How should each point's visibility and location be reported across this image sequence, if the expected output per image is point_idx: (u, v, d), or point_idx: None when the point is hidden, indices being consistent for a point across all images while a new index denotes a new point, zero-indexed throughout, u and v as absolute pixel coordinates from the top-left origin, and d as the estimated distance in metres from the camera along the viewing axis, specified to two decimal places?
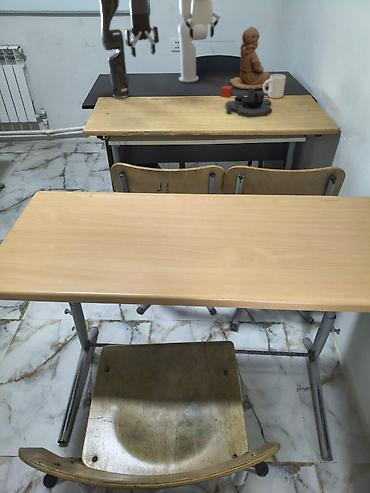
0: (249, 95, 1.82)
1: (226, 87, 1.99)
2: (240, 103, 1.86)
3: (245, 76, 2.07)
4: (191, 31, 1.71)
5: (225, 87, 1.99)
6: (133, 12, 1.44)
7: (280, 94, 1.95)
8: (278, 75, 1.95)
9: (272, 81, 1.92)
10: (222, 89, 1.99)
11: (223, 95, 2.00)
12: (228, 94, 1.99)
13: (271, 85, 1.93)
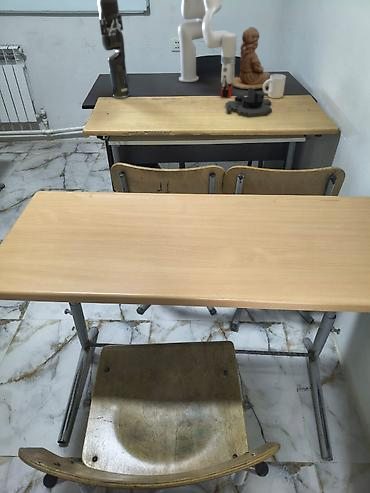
0: (249, 95, 1.82)
1: None
2: (240, 103, 1.86)
3: (245, 76, 2.07)
4: None
5: None
6: None
7: (280, 94, 1.95)
8: (278, 75, 1.95)
9: (272, 81, 1.92)
10: None
11: None
12: (228, 94, 1.99)
13: (271, 85, 1.93)
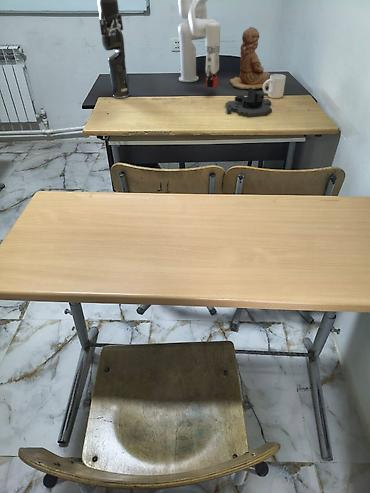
0: (249, 95, 1.82)
1: None
2: (240, 103, 1.86)
3: (245, 76, 2.07)
4: None
5: None
6: None
7: (280, 94, 1.95)
8: (278, 75, 1.95)
9: (272, 81, 1.92)
10: None
11: None
12: None
13: (271, 85, 1.93)
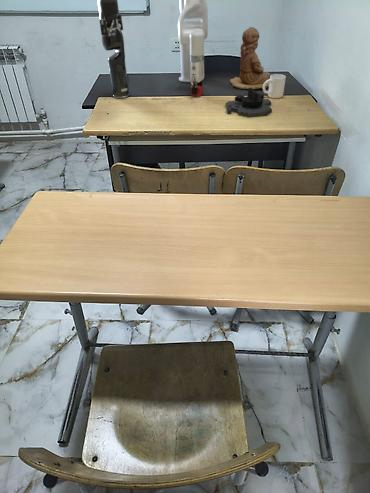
0: (249, 95, 1.82)
1: None
2: (240, 103, 1.86)
3: (245, 76, 2.07)
4: None
5: None
6: None
7: (280, 94, 1.95)
8: (278, 75, 1.95)
9: (272, 81, 1.92)
10: None
11: None
12: (198, 93, 2.01)
13: (271, 85, 1.93)
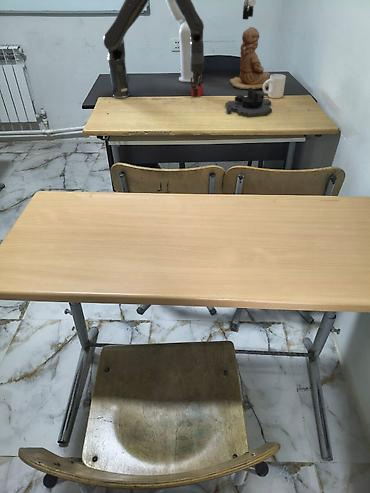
0: (249, 95, 1.82)
1: None
2: (240, 103, 1.86)
3: (245, 76, 2.07)
4: None
5: None
6: None
7: (280, 94, 1.95)
8: (278, 75, 1.95)
9: (272, 81, 1.92)
10: (192, 88, 2.01)
11: None
12: (198, 93, 2.01)
13: (271, 85, 1.93)
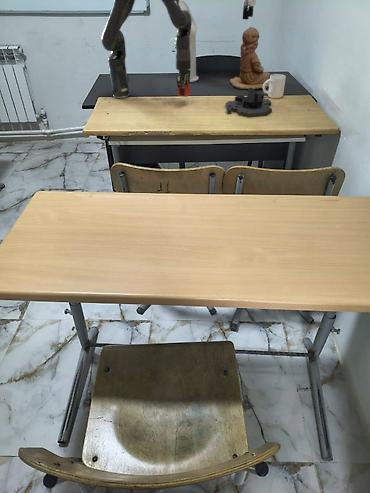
0: (249, 95, 1.82)
1: None
2: (240, 103, 1.86)
3: (245, 76, 2.07)
4: None
5: None
6: None
7: (280, 94, 1.95)
8: (278, 75, 1.95)
9: (272, 81, 1.92)
10: (178, 88, 1.86)
11: None
12: (184, 93, 1.86)
13: (271, 85, 1.93)
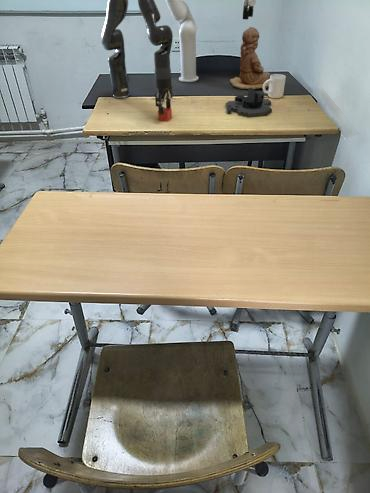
0: (249, 95, 1.82)
1: (164, 109, 1.74)
2: (240, 103, 1.86)
3: (245, 76, 2.07)
4: None
5: (163, 109, 1.74)
6: None
7: (280, 94, 1.95)
8: (278, 75, 1.95)
9: (272, 81, 1.92)
10: None
11: (161, 118, 1.76)
12: (165, 117, 1.74)
13: (271, 85, 1.93)
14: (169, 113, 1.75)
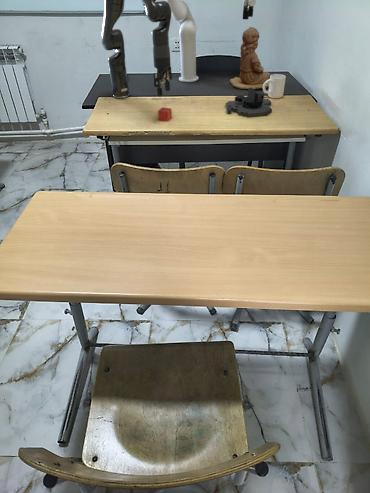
0: (249, 95, 1.82)
1: (164, 109, 1.74)
2: (240, 103, 1.86)
3: (245, 76, 2.07)
4: None
5: (163, 109, 1.74)
6: None
7: (280, 94, 1.95)
8: (278, 75, 1.95)
9: (272, 81, 1.92)
10: (159, 112, 1.74)
11: (161, 118, 1.76)
12: (165, 117, 1.74)
13: (271, 85, 1.93)
14: (169, 113, 1.75)
